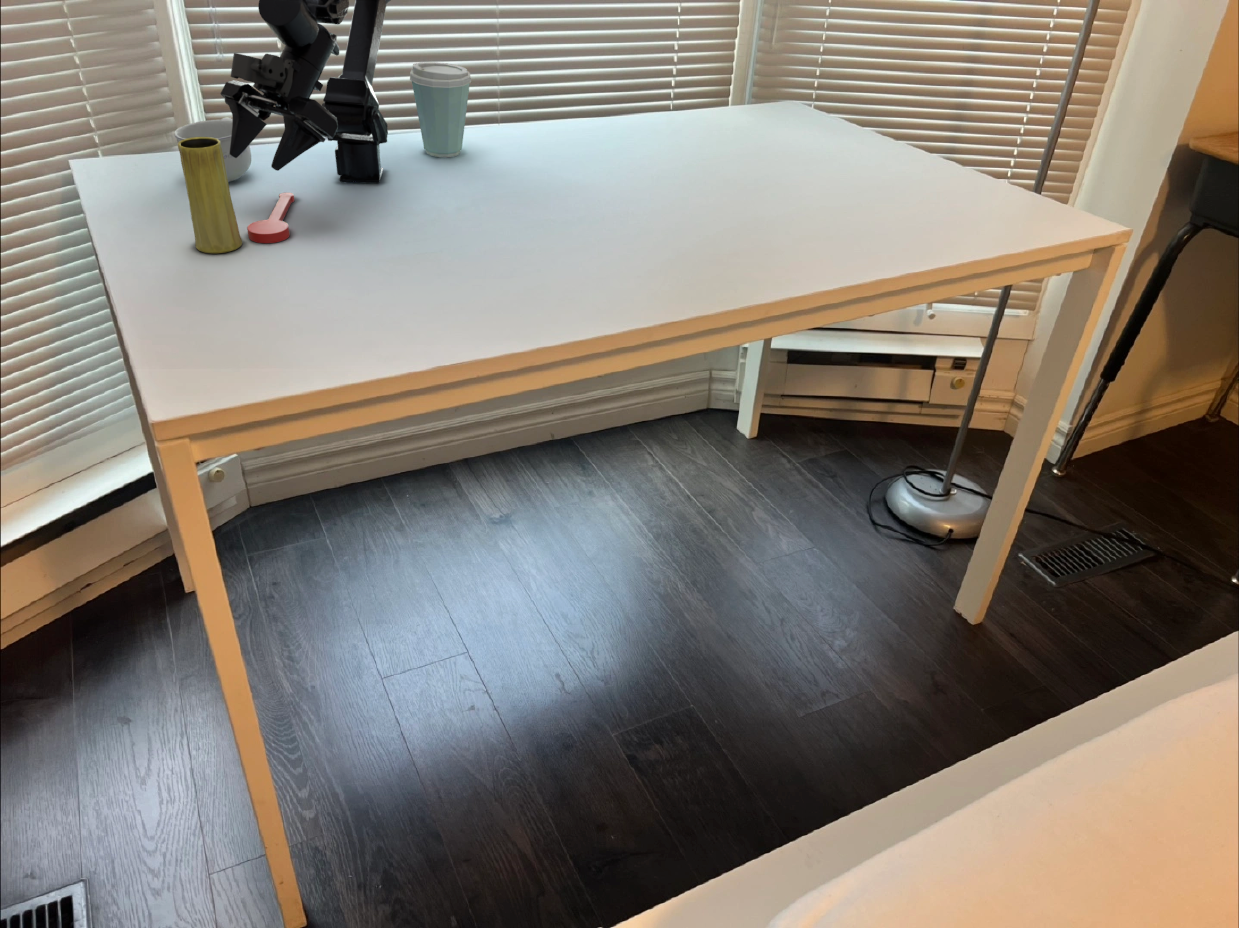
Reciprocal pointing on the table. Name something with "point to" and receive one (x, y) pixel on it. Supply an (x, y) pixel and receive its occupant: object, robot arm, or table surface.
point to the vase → (209, 195)
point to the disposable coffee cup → (441, 105)
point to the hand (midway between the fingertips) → (253, 162)
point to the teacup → (223, 134)
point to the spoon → (272, 223)
